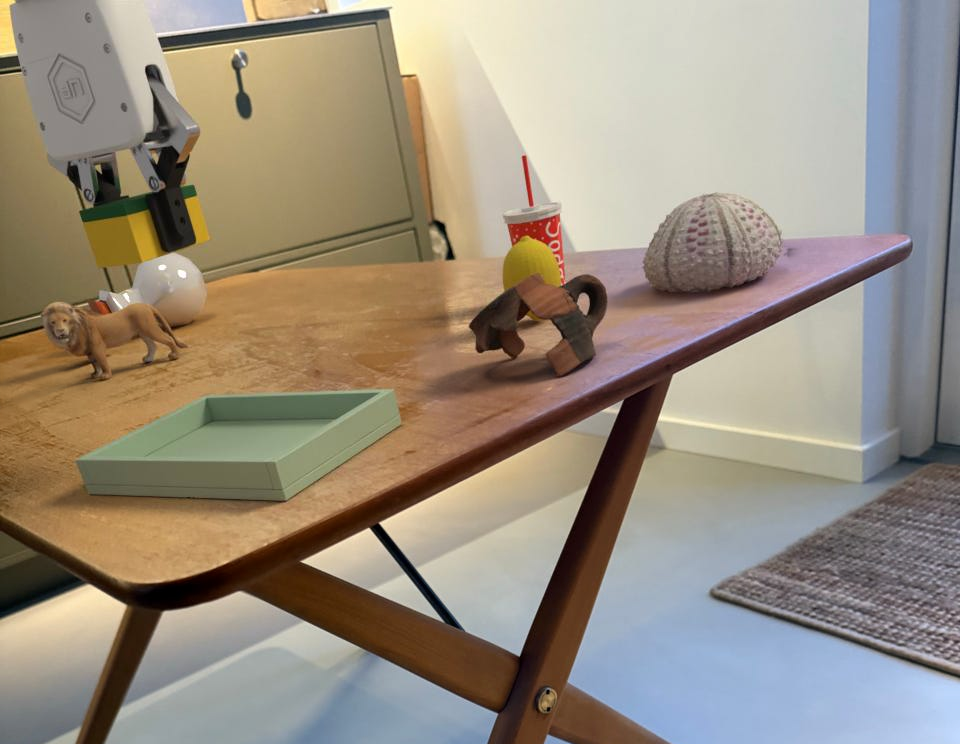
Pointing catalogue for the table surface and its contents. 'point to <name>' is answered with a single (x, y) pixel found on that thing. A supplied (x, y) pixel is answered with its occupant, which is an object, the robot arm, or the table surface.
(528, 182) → the beverage cup
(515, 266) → the lemon
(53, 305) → the lion figurine
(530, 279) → the brown piece
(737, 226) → the sea urchin shell
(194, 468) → the tray
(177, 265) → the potion bottle
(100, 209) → the sponge
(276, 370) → the table surface
